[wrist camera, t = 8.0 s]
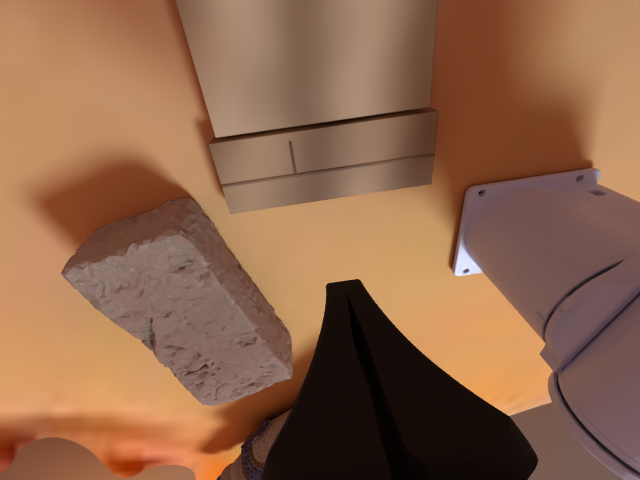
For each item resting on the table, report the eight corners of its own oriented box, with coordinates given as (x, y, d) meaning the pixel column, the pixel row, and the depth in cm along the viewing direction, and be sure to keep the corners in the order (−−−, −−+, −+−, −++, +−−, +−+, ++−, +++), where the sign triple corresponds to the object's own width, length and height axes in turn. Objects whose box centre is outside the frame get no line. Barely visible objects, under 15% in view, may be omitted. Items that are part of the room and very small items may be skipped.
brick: (85, 233, 20) (38, 278, 16) (193, 187, 19) (171, 224, 15) (217, 362, 29) (207, 411, 25) (296, 336, 28) (297, 383, 24)
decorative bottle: (354, 348, 30) (371, 418, 24) (395, 376, 33) (418, 442, 28) (195, 448, 38) (180, 518, 32) (242, 462, 41) (236, 527, 36)
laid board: (429, 107, 18) (438, 111, 17) (423, 177, 20) (431, 184, 19) (212, 138, 18) (208, 144, 16) (233, 205, 20) (230, 214, 19)
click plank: (431, -58, 14) (442, -68, 13) (421, 104, 18) (430, 106, 17) (175, -24, 14) (165, -32, 13) (219, 133, 17) (215, 137, 16)
